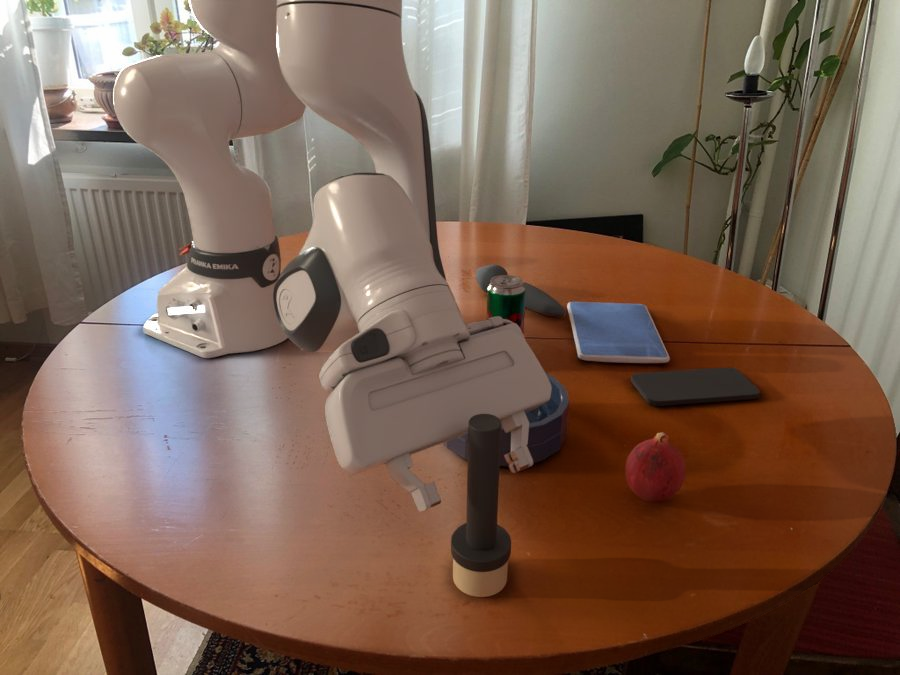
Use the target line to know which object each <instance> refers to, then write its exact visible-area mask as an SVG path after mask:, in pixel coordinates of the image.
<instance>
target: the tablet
mask: <svg viewBox="0 0 900 675" xmlns="http://www.w3.org/2000/svg"><path fill="white" fill-rule="evenodd" d="M566 308H567V312H568V316H569V321H570V325H571V329H572V335H573V339H574V344H575V349H576V353H577V357H578V359H580V360H582V361H586V362H587V361H588V362H590V361H591V362H601V363H615V364H616V363H618V364H619V363H620V364H622V363H623V364H666V363H669V362H670V360H671V357H670V354H669V353H668V351H667V349H666V346H665V344H664V342H663V340H662V337H661V335H660V333H659V330H658V329H657V327H656V324H655V321H654V319H653V318H652V315H651V313H650V311H649V309H648V307H647V306H646V305H645V304H642V303H623V302H621V303H620V302H619V303H618V302H594V301H593V302H591V301H570V302H568V303H567V304H566Z"/></svg>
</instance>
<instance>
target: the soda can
mask: <svg viewBox="0 0 900 675" xmlns="http://www.w3.org/2000/svg"><path fill="white" fill-rule="evenodd" d="M523 282H524V280H523V278H521V277H519V276H516V275H511V274H508V275H500V276H495V277H493V278H492V279H491V280H490V284H489V286H488V287H487V293H486V315H485V317H486V318H485V320H487V319H489V318H491V317H496V316H500V317H502V319H507V320H510V321H512V322H513V323H516V324H517V325H518V326H519V328H520V329H521V331H522V334H523V335H524V331H525V330H524V329H525V315H526V314H525V312H526V311H525V310H526V308H525V295H526V288H525V286H524V285H523ZM504 325H508V324H505V323H504V324H503V326H504Z"/></svg>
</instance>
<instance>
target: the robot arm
mask: <svg viewBox="0 0 900 675" xmlns="http://www.w3.org/2000/svg"><path fill="white" fill-rule="evenodd" d="M188 4H189V7H190V9H191V13H192V15H193V17H194V19H195V21H196V22H197V24H198V25H199V27H200V28H201V29H202V30H203V31H205V33H207V34H208V35H209V36H211V37H212V38H213V39H214V40H216V41H217V43H216V45H215V47H214V48H213V49H211V50H208V51H203V52H202V51H201V52H199V51H198V52H185V53H174V54H160V55H156V56H153V57H149V58H146V59H142V60H139V61H136V62H134V63H130V64H128V65H125V66H124V67H122V69H121V70H120V71H119V73H118V75H117V77H116V79H115V82H114V86H113V90H112V104H113V109H114V113H115V115H116V118H117V121H118V123H119V124H120V126H121V128H122V129H123V130H124V132H125V133H126V134H127V135H128V136H129V137H130V138H131V139H132V140H133V141H135V142H136V143H137V144H138V145H140V146H142V147H144V148H146V150H149V151H150V152H152V153H154V154H155V155H156V156H157V157H159V158H160V160H162V161H163V162H164V163H165V164H166V165H167V167H168V168H169V169H170V171H171V172H172V174H173V175H174V176H175V178H176V180H177V182H178V183H179V186H180V188H181V190H182V193H183V196H184V200H185V205H186V208H187V213H188V218H189V223H190V228H191V235H192V241H190V242H189V243H188V244H185V245H184V246H181V247H179V248H178V250H182V251H181V252H180V253H179V256H185V255H186V254H188V256H187V262H186V266H185V267H184V268H182V269H181V270H180V271H179V272H178V273H176V275H174V276H173V277H171V279H169V280H167V282H166V283H165V284H163V285H162V287H160V289H159V291H158V293H157V297H156V298H157V299H156V310H157V312H156V313H154V314H153V315H152V316H150V317H149V318H148V319H147V320H146V321H145V322H144V324H143V326H142V332H143V334H146V335H147V336H150V337H151V338H155V339H157V340H159V341H162V342H163V343H164V342H165V343H167V344H169V345H171V346H174V347H176V348H178V349H181V350H183V351H185V352H188V353H190V354H192V355H196V356H198V357H200V358H203V359H211V358H217V357H220V356H225V355H228V354H238V353H250V352H256V351H260V350H264V349H268V348H271V347H274V346H276V345H278V344H281V343H283V342H285V341H286V340H288V339H289V340H290V341H291V342H292V343H293V344H294V345H295V346H296V347H298V348H299V349H301V350H302V351H304V352H306V353H311V354H312V353H330V352H332V354H331V355H330V356H329V357H328V358H327V359H326V361H325V362H324V364H323V365H322V367H321V369H320V371H319V374H318V378H319V381H320V384H321V387H322V388H323V389H324V391H325V392H328V393H330V394H329V395H328V396H327V398H326V400H325V405H324V416H325V421H326V426H327V430H328V434H329V438H330V442H331V446H332V449H333V451H334V454H335V457H336V460H337V462H338V465H339V466H340V468H341V469H342V470H344V471H346V472H347V473H348V474H350V475H352V476H356V475H360V474H362V473H365V472H367V471H370V470H373V469H376V468H378V467H381V466H384V465H385V466H386V469H387V471H388V474H389V476H390V479H392V480H393V481H394V482H396V483H397V484H398V485H400V486H401V487H402V488H403V489H404V490H406V491H407V492H408V493H410V495H411V496H412V499H413V501H414V504H415V507H416V509H417V511H419V513H422V512H423V511H427V510H429V509H432V508H434V507H437V506H438V505H440V504H441V503H442V498H441V496H440V494H439V493H438V488H437V485H436V483H435V481H432V482H430V483H427V484H425V483H424V481H422V480H421V479H420V478H419V477H418V476H417V475H416V474H415V473H414V472H412V471H411V468H412V467H414V465H415V464H414V461H413V459H412V455H414V454H418V453H420V452H422V451H426V450H428V449H430V448H433V447H436V446H438V445H441V444H444V442H447V441H450V440H452V439H455V438H458V437H461V436H463V435H466V434H468V422H469V419H470V418H471V417H473V416H475V415H478V414H491V415H494V416H496V417H498V418H499V419H500V421H501V424H502V426H503V428H504V431H505V432H506V433H508V432H510V431H511V452H510V453H507V454H506V455H504V457H505V459H506V461H507V463H509V466H508V468H509V471H510V472H511V473H512V474H516V473H518V472H520V471H523V470H525V469H528V468H530V467H532V466H534V463H533V459H532V457H531V454H530V452H529V450H528V447H527V445H528V433H529V421H528V419H527V416H526V414H525V413H526V412H529V411H531V410H534V409H536V408H538V407H540V406H541V405H543V404H545V403H546V402H548V401H549V400H550V397H551V391H552V386H551V383H550V381H549V379H548V377H547V375H546V371H545V370H544V368H543V366H542V364H541V363H540V361H539V360H538V358H537V356H536V354H535V353H534V351H533V350H532V348H531V346H530V345H529V344H528V342H527V341H526V340H527V339H526V338H525V336H524V333H523V334H522V331H521V329H520V328H519V326H518V325H517V324H516V323H513V322H512V321H510V320H507V319H502V317H500V316H496V317H491V318H489V319H487V320H486V319H485V320H481V321H473V322H469V323H466V321H465V319H464V317H463V314H462V313H461V310H460V308H459V305H458V303H457V301H456V298H455V296H454V294H453V292H452V289H451V286H450V285H449V283H448V282H447V278H446V272H445V270H444V266H443V262H442V258H441V253H440V246H439V238H438V226H437V214H436V213H437V212H436V202H435V200H436V199H435V190H434V189H435V187H434V174H433V163H432V150H431V148H432V147H431V141H430V140H431V139H430V131H429V124H428V118H427V112H426V108H425V106H424V103H423V100H422V98H421V97H420V94H418V92H417V91H416V90H415V89H414V87H413V84H412V82H411V79H410V75H409V71H408V68H407V64H406V58H405V54H404V53H405V52H404V47H403V46H404V45H403V35H402V34H403V33H402V30H403V29H402V28H403V27H402V26H403V24H402V22H403V20H402V18H403V0H188ZM306 108H308V109H309V110H310V111H311V112H312V113H314V114H315V115H317V116H319V117H320V118H321V119H323V120H325V121H327V122H329V123H330V124H332V125H334V126H335V127H337V128H339V129H341V130H342V131H344V132H345V133H347V134H349V135H350V136H352V137H353V138H354V139H355V140H357V141H358V142H359V143H360V144H361V145H362V147H364V149H365V150H366V151H367V153H368V154H369V156H370V157H371V160H372V162H373V165H374V170H375V172H368V171H367V172H364V171H363V172H353V173H351V174H346V175H341V176H338V177H336V178H334V179H331V180H330V181H328V182H327V183H325V184H324V185H322V187H320V188H319V189H318V190H317V191H316V193H315V195H314V198H313V205H312V206H313V207H312V208H313V212H312V213H313V214H312V215H313V216H312V224H311V227H310V230H309V232H308V235H307V237H306V240H305V242H304V243H303V246H302V247H301V250H300V251H299V253H298V255H297V256H295V257H294V258H293V259H291V261H290V262H289V263H287V264H286V266H284V268H283V270H281V269H282V267H281V265H282V259H281V258H282V257H281V248H280V243H279V237H278V236H277V235H276V232H275V222H274V212H273V202H272V194H271V189H270V186H269V185H268V183H267V182H266V180H265V179H264V178H263V177H262V176H261V175H260V174H259V173H257V172H255V171H254V170H252V169H249V168H247V167H245V166H243V165H240V164H237V163H236V161H235V159H234V158H233V155H232V151H231V147H230V141H233V140H238V139H239V140H240V139H247V138H251V137H252V138H253V137H258V136H264V135H269V134H272V133H274V132H277V131H280V130H282V129H284V128H287V127H289V126H291V125H293V124H295V123H297V122H299V121H300V120H301V119H302V117H303V116H304V114H305V111H306ZM504 323H505V324H508V325H504V326H503V324H504Z"/></svg>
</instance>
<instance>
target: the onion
mask: <svg viewBox="0 0 900 675" xmlns="http://www.w3.org/2000/svg"><path fill="white" fill-rule="evenodd" d="M668 440H669V436H668V434H666V433H665V432H664V431H662V432H657V433H656V435H655V436H654V437H653V438H650V439H647V440H643V441H641V442H640V443H638V444H637V445H636V446H635V447H634V448H633V449H632V450H631V451H630V452H629V454H628V456H627V457H626V462H625V469H624V474H625V479H626V482H627V483H628V486H629V488H630V490H631V491H632V492H633V493H634V494H635V495H636V496H637V497H639V498H640V499H642V500H644V501H647V502H650V503H659V502H662V501H663V502H664V501H667V500H668V499H670V498H672V497H674V496H675V495H677V493H679V492H681V489H682V487H683V485H684V482H685V480H686V475H687V470H686V462H685V459H684V457H683V455H682V453H681V452H680V451H679V450H678V449H677V447H676V446H674V444H673V443H672V442H669V441H668Z"/></svg>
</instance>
